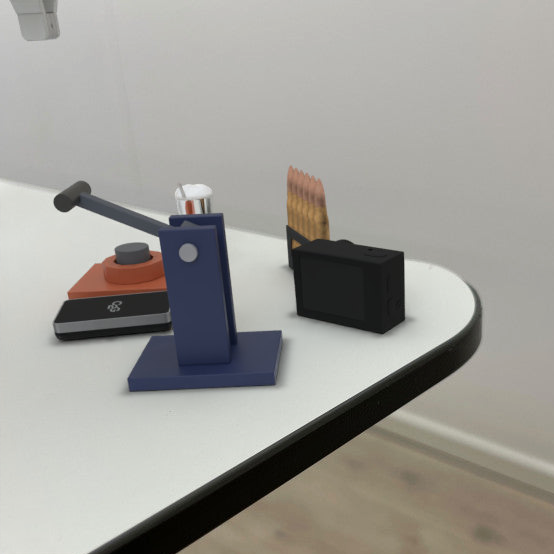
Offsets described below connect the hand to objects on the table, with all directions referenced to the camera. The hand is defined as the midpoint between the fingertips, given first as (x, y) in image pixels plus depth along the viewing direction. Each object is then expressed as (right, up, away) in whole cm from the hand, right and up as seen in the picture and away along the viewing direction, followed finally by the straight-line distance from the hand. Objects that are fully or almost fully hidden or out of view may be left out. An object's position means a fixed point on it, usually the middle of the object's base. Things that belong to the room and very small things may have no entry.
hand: (42, 40), depth 56 cm
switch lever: (+5, -13, +6) cm, 15 cm away
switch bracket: (+10, -24, +11) cm, 28 cm away
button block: (-1, -16, +29) cm, 33 cm away
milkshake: (+3, -11, +41) cm, 42 cm away
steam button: (-1, -13, +28) cm, 31 cm away
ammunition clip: (+18, -14, +32) cm, 39 cm away
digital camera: (+23, -19, +21) cm, 36 cm away
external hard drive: (-1, -20, +21) cm, 29 cm away
